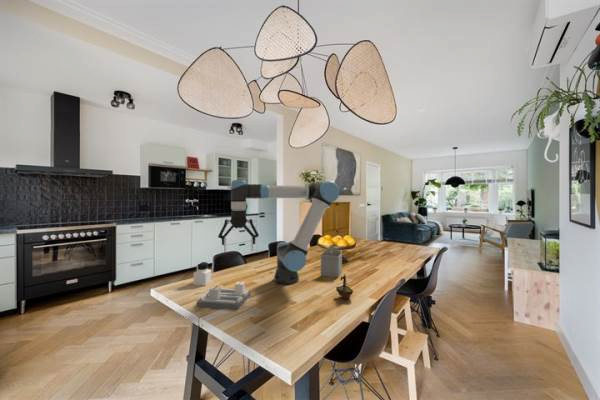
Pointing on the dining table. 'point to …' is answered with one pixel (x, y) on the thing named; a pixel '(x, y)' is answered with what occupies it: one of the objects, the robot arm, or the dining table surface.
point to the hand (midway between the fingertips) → (238, 250)
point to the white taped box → (240, 288)
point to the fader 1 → (215, 293)
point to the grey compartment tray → (224, 300)
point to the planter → (331, 262)
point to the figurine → (344, 289)
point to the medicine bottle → (202, 274)
